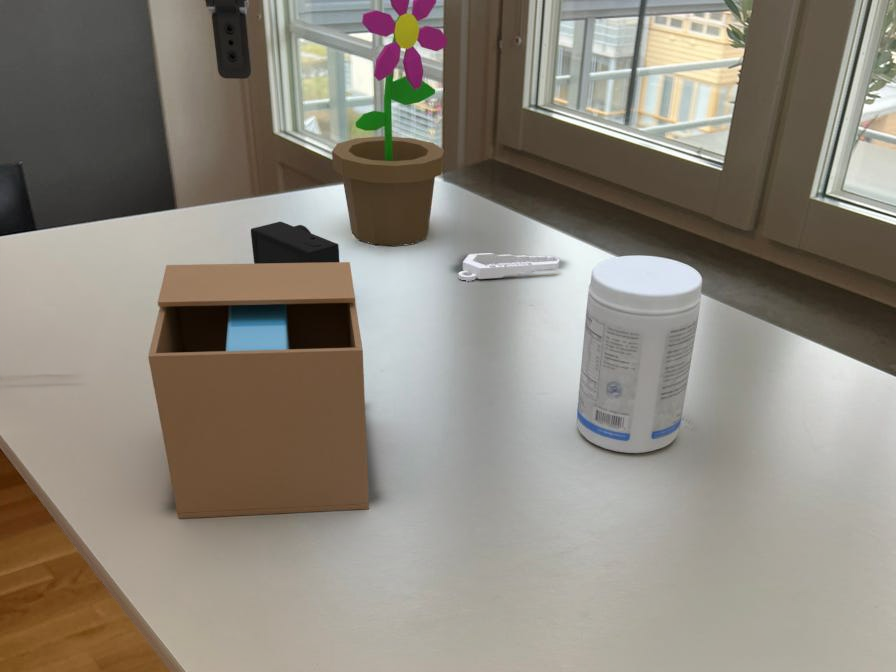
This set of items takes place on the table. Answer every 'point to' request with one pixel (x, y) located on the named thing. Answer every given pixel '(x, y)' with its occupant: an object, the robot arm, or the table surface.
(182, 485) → the carton
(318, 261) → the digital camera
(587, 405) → the supplement tub
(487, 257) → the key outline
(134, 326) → the table surface
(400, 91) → the flowerpot
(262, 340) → the data package
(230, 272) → the flap
